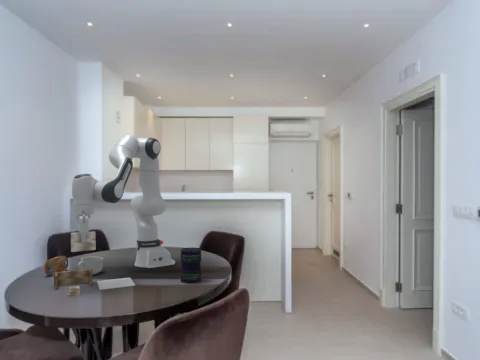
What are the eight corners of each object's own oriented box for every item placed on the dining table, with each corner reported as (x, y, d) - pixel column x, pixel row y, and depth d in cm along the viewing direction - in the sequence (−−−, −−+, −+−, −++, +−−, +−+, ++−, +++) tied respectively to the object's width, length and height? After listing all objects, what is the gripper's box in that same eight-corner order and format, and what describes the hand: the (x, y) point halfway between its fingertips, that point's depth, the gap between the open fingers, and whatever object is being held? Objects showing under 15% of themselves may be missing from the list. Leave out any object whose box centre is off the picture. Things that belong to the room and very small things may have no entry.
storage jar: (181, 278, 178) (181, 247, 178) (201, 277, 179) (201, 247, 179) (179, 283, 168) (179, 251, 168) (201, 283, 169) (201, 251, 169)
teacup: (95, 270, 193) (95, 255, 193) (107, 273, 187) (107, 257, 187) (70, 275, 182) (70, 259, 182) (82, 279, 176) (82, 262, 176)
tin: (48, 277, 178) (48, 260, 178) (43, 277, 179) (43, 260, 179) (68, 270, 193) (68, 254, 193) (63, 269, 194) (63, 254, 194)
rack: (92, 281, 171) (92, 268, 171) (93, 285, 165) (93, 272, 165) (54, 285, 164) (54, 272, 164) (53, 290, 158) (53, 276, 158)
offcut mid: (78, 291, 155) (78, 288, 155) (79, 293, 152) (79, 290, 152) (68, 292, 153) (68, 289, 153) (69, 294, 150) (69, 291, 150)
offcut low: (79, 294, 155) (79, 291, 155) (79, 296, 151) (80, 293, 151) (68, 295, 153) (68, 292, 153) (68, 298, 150) (68, 295, 150)
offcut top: (78, 288, 154) (78, 285, 154) (79, 290, 152) (79, 287, 152) (69, 290, 152) (69, 287, 152) (70, 291, 150) (70, 288, 150)
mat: (130, 278, 177) (130, 277, 177) (135, 285, 164) (135, 284, 164) (97, 281, 171) (97, 281, 171) (99, 290, 158) (99, 289, 158)
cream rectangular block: (95, 248, 165) (95, 231, 165) (95, 249, 163) (95, 231, 163) (71, 250, 161) (70, 232, 161) (71, 251, 159) (70, 233, 159)
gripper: (92, 212, 154) (92, 244, 154) (89, 208, 172) (89, 237, 172) (75, 212, 151) (76, 246, 151) (74, 209, 169) (75, 238, 170)
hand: (83, 241), depth 162 cm, fingers closed on cream rectangular block, 2 cm apart
